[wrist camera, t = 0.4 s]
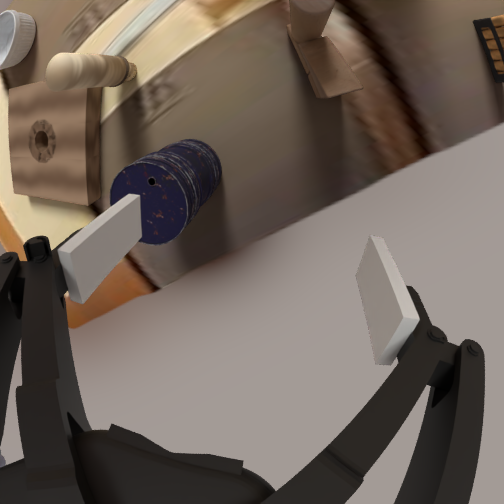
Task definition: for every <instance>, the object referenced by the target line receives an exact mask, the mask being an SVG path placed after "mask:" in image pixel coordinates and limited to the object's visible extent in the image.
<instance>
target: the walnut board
mask: <svg viewBox="0 0 504 504" xmlns="http://www.w3.org/2000/svg"><path fill="white" fill-rule="evenodd" d="M101 93H102V87H93V88H82V89H72V90H64V91H52V90H50V89H49V88H48V86H47V84H46V81H41V82H36V83H31V84H27V85H23V86H19V87H15V88H11V89H9V108H8V124H9V149H10V162H11V172H12V181H13V188H14V193H15V194H21V195H27V196H33V197H39V198H45V199H51V200H57V201H63V202H69V203H75V204H81V205H86V206H89V205H90V204H92V203H93V202H95V201H96V200H98V199H99V198H101V192H100V165H99V135H100V108H101Z"/></svg>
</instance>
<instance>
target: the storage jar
mask: <svg viewBox="0 0 504 504" xmlns="http://www.w3.org/2000/svg"><path fill="white" fill-rule="evenodd" d="M221 173H222V170H221V163H220V160H219V157H218V156H217V154H216V152H215V151H214V150H213V149H212V148H211V147H210V146H209V145H207V144H206V143H204V142H202V141H199V140H195V139H185V140H181V141H179V142H175V143H172V144H170V145H168V146H166V147H164V148H162V149H161V150H159V151H158V152H153V153H150V154H148V155H146V156H144V157H142V158H140V159H138V160H136V161H135V162H133V163H132V164H130V165H128V166H126V167H125V168H123V169H122V170H121V171H120V172H119V173H118V174H117V175H116V177H115V178H114V180H113V183H112V185H111V189H110V206H113V205H114V204H115V203H117V202H118V201H120V200H121V199H122V198H124V197H125V196H126V195H128V194H135V195H140V210H141V230H142V237H141V238H140V239H139V241H138V242H141V243H143V244H148V245H162V244H166V243H168V242H170V241H172V240H174V239H175V238H176V237H177V236H178V235H179V234H180V233H181V232H182V231H183V229H184V228H185V227H186V226H187V225H188V224H189V223H190V222H191V220H192V219H193V218H194V217H195V215H196V214H197V212H198V210H199V208H200V206H202V205H203V204H204V203H205V202H206V201H207V200H208V199H209V198H210V196H211V195H212V194H213V192H214V190H215V189H216V188H217V186H218V184H219V182H220V179H221Z"/></svg>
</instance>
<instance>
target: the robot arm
mask: <svg viewBox="0 0 504 504" xmlns="http://www.w3.org/2000/svg"><path fill="white" fill-rule="evenodd" d="M141 237H142V230H141V210H140V195H135V194H128V195H126V196H125V197H124V198H122V199H121V200H120V201H118V202H117V203H115V204H114V205H113V206H111V207H110V208H109V209H107V210H106V211H105V212H103V213H102V214H101V215H100V216H98V217H97V218H96V219H94V220H93V221H92V222H91V223H89V224H88V225H87V226H85V227H83V228H81V229H79V230H77V231H75V232H74V233H73V234H71V235H70V236H69V237H68V238H66V239H65V240H64V241H63V242H62V243H60V244H59V245H58V246H57V247H56V248H55V249H53V250H52V251H51V248H50V244H49V239H48V237H46V236H36V237H33V238H31V239H29V240H27V241H26V242H25V244H24V245H23V247H24V251H25V254H26V258H27V261H20V260H19V257H18V254H17V253H16V252H6V253H4V254H2V256H0V445H1V441H2V436H3V431H4V425H5V417H6V409H7V402H8V395H9V390H10V384H11V379H12V374H13V369H14V364H15V360H16V356H17V352H18V348H19V344H20V340H21V363H22V386H18V387H17V388H16V404H17V415H18V423H19V430H20V437H21V442H22V449H23V454H24V458H23V459H21V460H18V461H16V462H13V463H11V464H8V465H6V466H5V459H4V457H3V456H2V455H1V450H0V504H345V502H346V501H347V500H348V499H349V498H350V497H351V496H352V495H353V494H354V493H355V492H356V490H357V489H358V488H359V487H360V485H361V484H362V482H363V481H364V480H363V477H364V476H365V474H366V473H367V472H368V471H369V469H370V468H371V467H372V466H373V464H374V463H375V462H376V460H377V459H378V458H379V457H380V455H381V454H382V453H383V451H384V450H385V449H386V447H387V446H388V445H389V443H390V442H391V440H392V439H393V438H394V436H395V435H396V433H397V432H398V430H399V429H400V427H401V426H402V424H403V423H404V421H405V420H406V418H407V417H408V415H409V413H410V412H411V410H412V408H413V407H414V405H415V404H416V402H417V400H418V399H419V397H420V395H421V394H422V392H423V390H424V388H425V387H426V385H429V386H431V388H430V393H429V397H428V402H427V406H426V410H425V415H424V419H423V422H422V426H421V430H420V433H419V437H418V440H417V443H416V446H415V450H414V453H413V456H412V459H411V462H410V465H409V467H408V470H407V473H406V476H405V478H404V481H403V483H402V486H401V488H400V491H399V493H398V495H397V498H396V500H395V503H394V504H468V503H469V500H470V496H471V492H472V487H473V483H474V478H475V474H476V468H477V463H478V457H479V450H480V443H481V435H482V426H483V413H484V395H485V360H484V352H483V349H482V348H481V346H480V345H479V344H478V343H477V342H475V341H473V340H470V339H465V340H464V341H463V342H462V343H461V345H460V346H457V345H455V344H452V343H449V342H447V341H448V340H447V337H446V335H445V334H444V332H443V331H441V330H440V329H439V328H438V327H436V326H433V325H432V324H431V322H430V319H429V317H428V315H427V312H426V310H425V308H424V306H423V303H422V302H421V299H420V297H419V295H418V293H417V292H416V291H415V290H414V289H413V287H411V286H406V285H405V283H404V281H403V279H402V276H401V274H400V272H399V270H398V268H397V266H396V264H395V262H394V260H393V257H392V255H391V254H390V252H389V249H388V247H387V246H386V244H385V242H384V240H383V238H382V237H378V236H373V235H370V237H369V240H368V243H367V246H366V249H365V252H364V255H363V257H362V260H361V263H360V266H359V268H358V271H357V274H356V279H357V282H358V287H359V291H360V295H361V299H362V303H363V307H364V312H365V316H366V320H367V325H368V330H369V334H370V339H371V344H372V349H373V354H374V360H375V364H379V365H391V364H392V363H393V361H394V360H395V358H396V357H397V359H398V364H397V366H396V367H395V369H394V370H393V371H392V373H391V374H390V375H389V377H388V378H387V379H386V380H385V382H384V383H383V384H382V386H381V387H380V388H379V389H378V391H377V392H376V393H375V394H374V396H373V397H372V398H371V399H370V400H369V402H368V403H367V404H366V405H365V406H364V408H363V409H362V410H361V411H360V412H359V413H358V414H357V415H356V417H355V418H354V419H353V420H352V421H351V422H350V423H349V424H348V425H347V426H346V427H345V429H344V430H343V431H342V432H341V433H340V434H339V435H338V436H337V437H336V438H335V439H334V440H333V441H332V442H331V443H330V444H329V445H328V446H327V447H326V448H325V449H324V450H323V451H322V452H321V453H319V454H318V455H317V456H316V457H315V458H314V459H313V460H312V461H311V462H310V463H309V464H308V465H307V466H305V467H304V468H303V469H302V470H301V471H300V472H299V473H298V474H297V475H295V476H294V477H293V478H292V479H291V480H289V481H288V482H287V483H286V484H285V485H283V486H282V487H281V488H280V489H278V490H277V491H275V489H274V488H273V487H272V486H271V485H270V484H269V483H268V482H267V481H265V480H264V479H263V478H262V477H260V476H259V475H257V474H255V473H254V472H252V471H250V470H247V469H245V468H243V467H242V466H243V461H242V460H236V459H231V458H226V457H221V456H216V455H211V454H185V453H172V452H169V451H167V450H166V449H164V448H162V447H161V446H159V445H157V444H155V443H154V442H152V441H150V440H149V439H147V438H146V437H144V436H142V435H141V434H138V433H135V432H132V431H130V430H127V429H124V428H122V427H119V426H117V425H114V424H111V426H110V429H109V430H92V429H91V427H90V425H89V423H88V420H87V418H86V414H85V411H84V407H83V403H82V399H81V395H80V391H79V386H78V382H77V377H76V372H75V367H74V361H73V356H72V350H71V344H70V337H69V330H68V321H67V312H66V302H65V298H64V294H65V293H66V292H67V291H68V292H69V295H70V299H71V300H72V301H75V302H78V303H81V304H84V302H85V301H86V300H87V299H88V298H89V296H90V295H91V294H92V293H93V292H94V290H95V289H96V288H97V287H98V286H99V284H100V283H101V282H102V281H103V280H104V279H105V277H106V276H107V275H108V274H109V273H110V272H111V270H112V269H113V268H114V267H115V266H116V265H117V264H118V263H119V261H120V260H121V259H122V258H123V257H124V256H125V255H126V254H127V253H128V251H129V250H130V249H131V248H132V247H133V246H134V245H135V244H136V243H137V242H138V241H139V239H140V238H141ZM8 297H9V298H8Z"/></svg>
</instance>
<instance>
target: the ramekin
mask: <svg viewBox="0 0 504 504" xmlns="http://www.w3.org/2000/svg"><path fill="white" fill-rule="evenodd" d="M35 32H36V25H35V21H34V19H33V18H32V17H31V16H30V15H28V14H25V13H20V12H16V11H14V10H7V11H4V12H2V13H1V14H0V70H1V69H4V68H8V67H11V66H14V65H16V64H18V63H20V62H21V61H22V60H23V59H24V58H25V56H26V55H27V54H28V52H29V50H30V49H31V47H32V44H33V41H34V38H35Z"/></svg>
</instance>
